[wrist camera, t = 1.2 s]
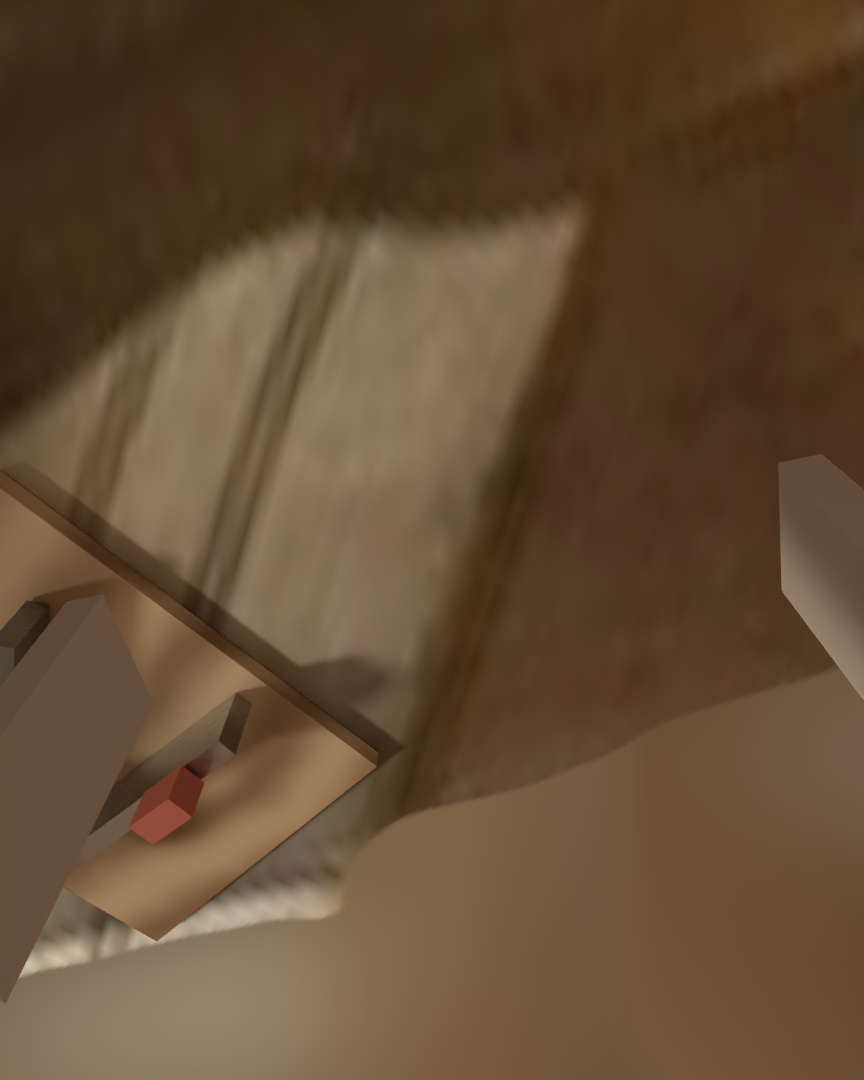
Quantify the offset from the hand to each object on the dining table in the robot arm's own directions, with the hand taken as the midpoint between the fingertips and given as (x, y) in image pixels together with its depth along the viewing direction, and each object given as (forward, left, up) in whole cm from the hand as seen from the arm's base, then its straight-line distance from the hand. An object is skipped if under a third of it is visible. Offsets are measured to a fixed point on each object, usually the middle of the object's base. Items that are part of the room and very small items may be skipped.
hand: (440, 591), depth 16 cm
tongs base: (+5, -31, -23) cm, 39 cm away
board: (+2, -32, -24) cm, 40 cm away
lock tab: (+6, -26, -19) cm, 33 cm away
